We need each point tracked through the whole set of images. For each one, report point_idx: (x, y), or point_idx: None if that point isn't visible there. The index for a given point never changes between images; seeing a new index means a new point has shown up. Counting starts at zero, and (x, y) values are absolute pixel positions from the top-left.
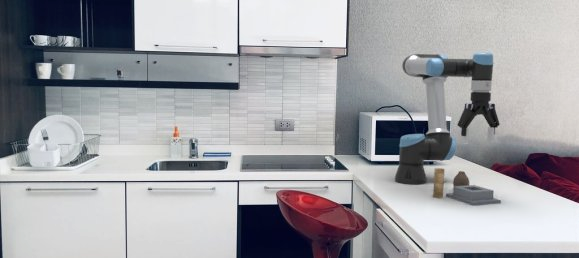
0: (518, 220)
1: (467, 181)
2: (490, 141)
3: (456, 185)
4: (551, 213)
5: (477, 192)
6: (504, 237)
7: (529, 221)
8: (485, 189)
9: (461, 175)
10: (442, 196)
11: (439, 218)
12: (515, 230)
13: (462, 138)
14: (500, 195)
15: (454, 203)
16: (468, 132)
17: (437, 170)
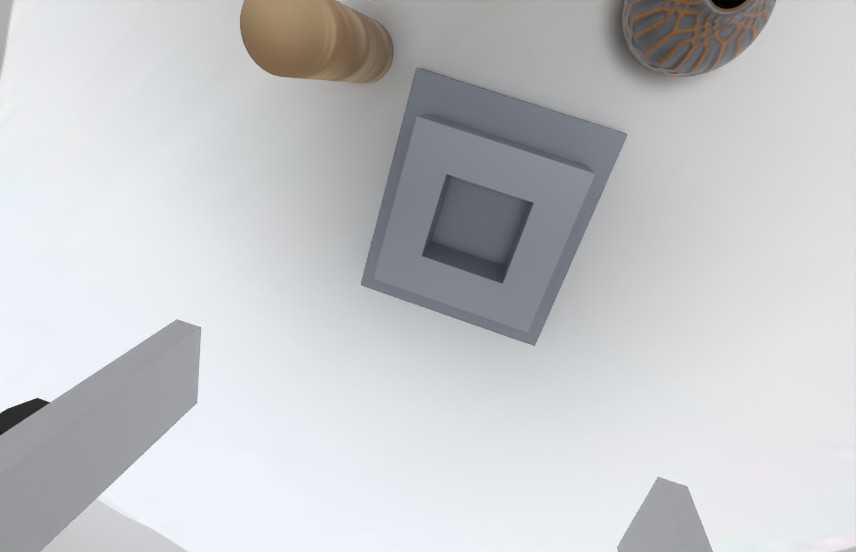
0: (322, 474)
1: (682, 72)
2: (632, 549)
3: (623, 7)
4: (531, 524)
5: (412, 289)
6: (133, 496)
7: (344, 500)
8: (514, 290)
9: (678, 16)
10: (365, 82)
11: (86, 295)
12: (213, 498)
13: (116, 369)
14: (742, 260)
15: (321, 201)
16: (43, 540)
17: (246, 41)
